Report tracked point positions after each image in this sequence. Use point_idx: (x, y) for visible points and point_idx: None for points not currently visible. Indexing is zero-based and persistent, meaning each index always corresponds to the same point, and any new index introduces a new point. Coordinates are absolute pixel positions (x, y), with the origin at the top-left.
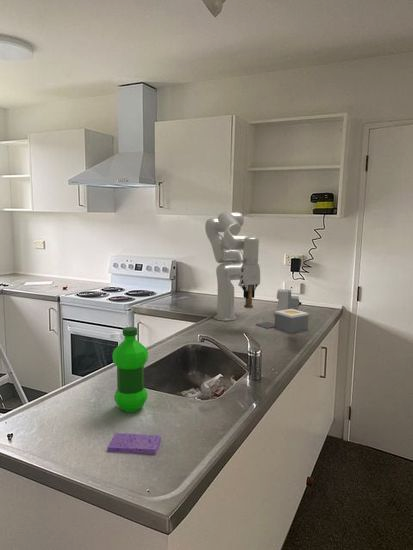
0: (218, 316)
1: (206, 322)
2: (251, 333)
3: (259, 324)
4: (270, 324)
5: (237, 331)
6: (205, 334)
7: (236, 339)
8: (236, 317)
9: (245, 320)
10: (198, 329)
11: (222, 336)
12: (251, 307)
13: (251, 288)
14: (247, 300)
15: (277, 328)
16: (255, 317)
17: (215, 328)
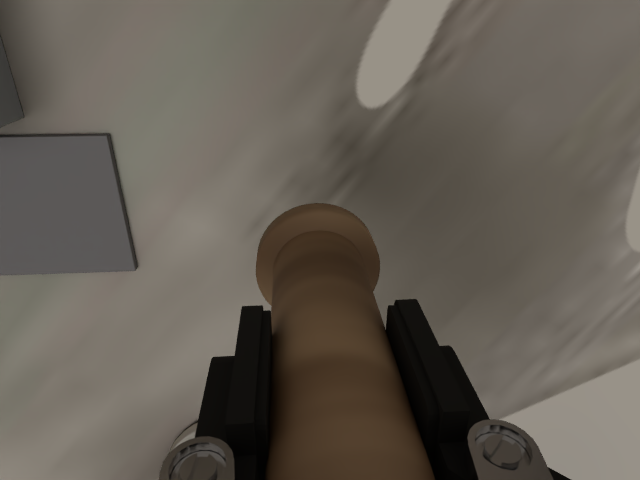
0: None
1: None
2: (322, 88)
3: (111, 247)
4: (14, 205)
5: (380, 194)
6: (612, 242)
7: (553, 8)
8: (180, 439)
9: (142, 384)
10: (554, 347)
11: (567, 143)
12: (314, 209)
13: (354, 468)
14: (374, 299)
15: (9, 77)
16: (26, 412)
17: (454, 321)
